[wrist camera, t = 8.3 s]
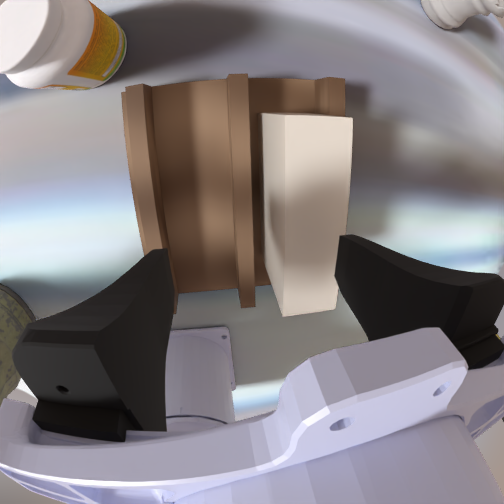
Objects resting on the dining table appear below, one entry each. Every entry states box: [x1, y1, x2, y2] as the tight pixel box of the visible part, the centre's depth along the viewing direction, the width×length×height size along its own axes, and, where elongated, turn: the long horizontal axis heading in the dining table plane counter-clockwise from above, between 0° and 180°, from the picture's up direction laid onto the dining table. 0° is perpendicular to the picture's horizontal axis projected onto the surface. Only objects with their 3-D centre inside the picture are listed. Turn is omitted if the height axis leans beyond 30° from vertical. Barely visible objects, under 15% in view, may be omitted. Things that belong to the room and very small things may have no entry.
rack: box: [121, 74, 345, 314], centre depth 18 cm, size 15×13×4 cm
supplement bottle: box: [0, 0, 127, 90], centre depth 10 cm, size 5×5×10 cm
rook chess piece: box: [421, 0, 504, 29], centre depth 10 cm, size 4×4×8 cm
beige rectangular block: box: [258, 113, 353, 317], centre depth 16 cm, size 10×3×7 cm, turn 2°
